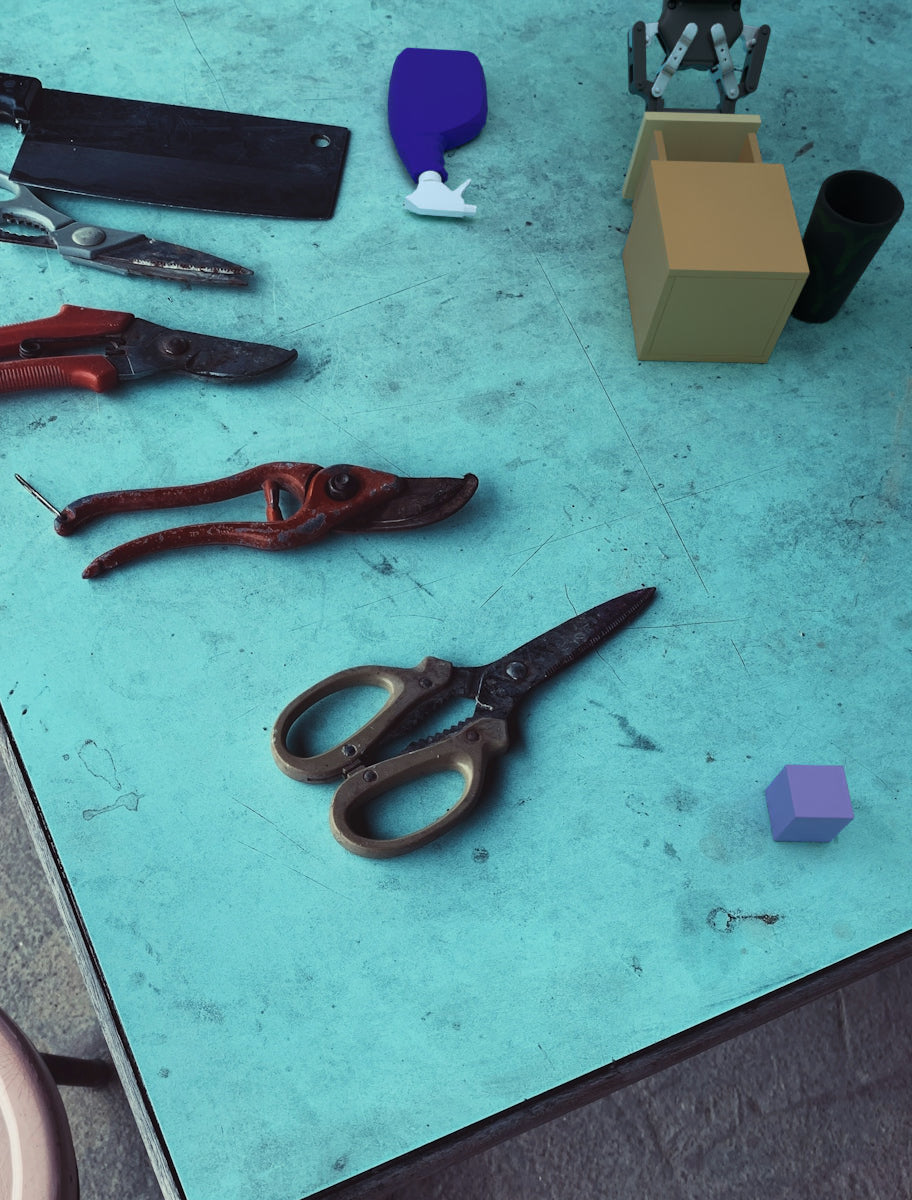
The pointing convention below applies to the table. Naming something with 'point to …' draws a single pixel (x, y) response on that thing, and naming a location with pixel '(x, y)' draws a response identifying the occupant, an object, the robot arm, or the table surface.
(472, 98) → the spray bottle
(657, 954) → the table surface
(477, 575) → the table surface
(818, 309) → the cup
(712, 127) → the drawer
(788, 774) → the violet matte cube
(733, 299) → the cabinet
